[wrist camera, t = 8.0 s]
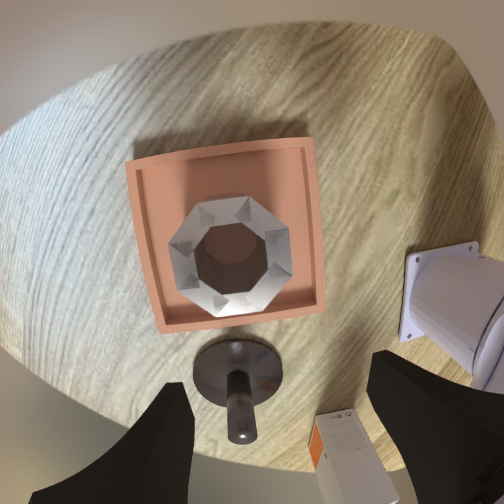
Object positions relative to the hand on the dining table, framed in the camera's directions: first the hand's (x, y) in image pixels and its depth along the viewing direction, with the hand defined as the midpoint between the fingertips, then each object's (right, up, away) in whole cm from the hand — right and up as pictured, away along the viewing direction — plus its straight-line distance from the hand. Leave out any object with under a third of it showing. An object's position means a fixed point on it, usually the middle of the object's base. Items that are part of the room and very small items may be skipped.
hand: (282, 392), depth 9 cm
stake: (-2, -5, +11) cm, 12 cm away
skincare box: (+7, -13, +14) cm, 20 cm away
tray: (-3, +6, +8) cm, 11 cm away
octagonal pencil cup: (-2, +6, +8) cm, 10 cm away
